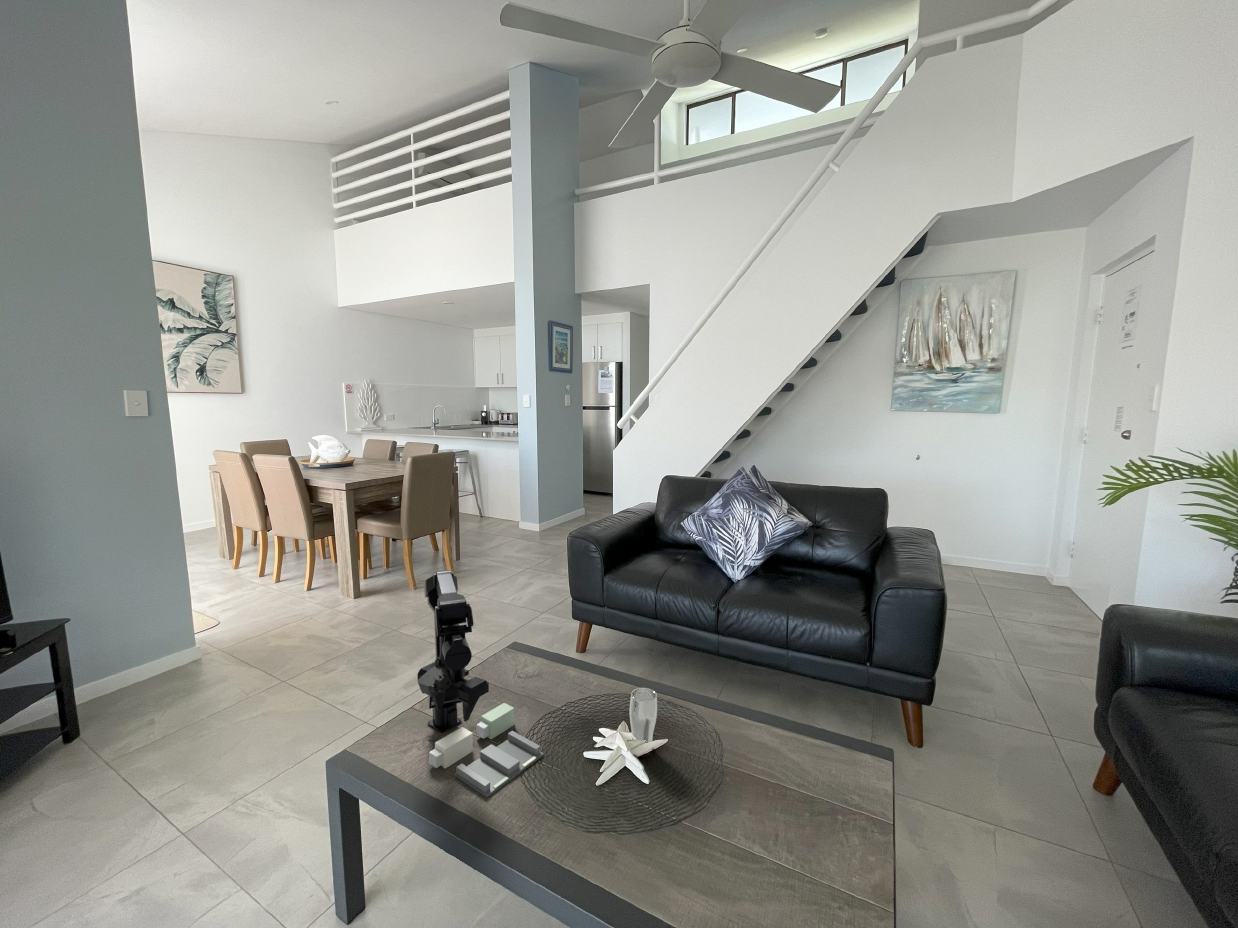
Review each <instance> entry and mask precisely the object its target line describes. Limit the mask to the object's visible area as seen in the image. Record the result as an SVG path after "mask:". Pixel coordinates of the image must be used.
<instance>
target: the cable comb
mask: <svg viewBox="0 0 1238 928" xmlns="http://www.w3.org/2000/svg"><path fill="white" fill-rule="evenodd" d="M544 756H545V753H544V752H542V751H541V746H540V745H539V744H537V743H536V742H534V741H532V740H530V739H528V738H526V737H525V736H523V735H521V734H520V733H518V732H515V731H513V730H511V731H509V732H508V733H507V739H506V740H504V741H503V742H502V743H500V744H499V745H497V746H495V745H494V744H489V745H488V746H487V747H484V748H482V750H480V751H479V758H477V759H475V760H474V761H472V762H471V763H470V764H467V766H466V765H465V764H464V763H459V765H457V766H456V769H455V774H454V775H455V777H456V779H459V780H460V781H462V783H464V784H466V785H468V786H469V787H471V788H472V789H473V790H475V791H476V792H477V793H479V794H481V796H484V797H485V798H487V799H488V798H489V797H490V796H492V795H493V794H494V793H495V792H497V791H498V790H499V789H501V788H502V787H504V786H505V785H507V784H508V783H509V782H510V781H512V780H513V779H514V778H516V777H517V776H518V775H520V774H521V773H523V772H524V771H525V770H526V769H528V768H529V767H530V766H532V765H533V764H534V763H535V762H538V760H539V759H541V758H543V757H544Z"/></svg>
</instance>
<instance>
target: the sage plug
mask: <svg viewBox="0 0 1238 928" xmlns="http://www.w3.org/2000/svg"><path fill="white" fill-rule="evenodd" d="M514 725H515V707H513V706H511V705H510V704H507V703H506V702H503V703H501V704H500V705H498V706H496V707H494V708H492V709H491V710H489V711H487V712H486V713H484V714H482V715H481V716H480V722H479V723H477V724H476V731H475V732H476V735H477V736H478V737H480V738H482V739H485V738H487V739H490V740H493V739H494V738H496V737H497V736H499V735H500V734H503V733H504V732H505V731H507V730H508V729H510V728H512V727H513V726H514Z"/></svg>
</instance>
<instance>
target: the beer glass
mask: <svg viewBox="0 0 1238 928" xmlns="http://www.w3.org/2000/svg"><path fill="white" fill-rule="evenodd" d="M657 717H658V694H657V692H656V691H654V690H653V689H651V688H649V687H648V688H647V687H638V688H635V689H633V690H632V691H631V693H630V701H629V722H630V723H629V724H630V731H631V736H632V735H633V736H634V737H635V738H636V739H637V740H641V741H642V740H646V741H647V742H653V734H654V731H655V727H656V726H655V725H656V723H657ZM646 741H645V742H646Z"/></svg>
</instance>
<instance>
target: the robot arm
mask: <svg viewBox="0 0 1238 928" xmlns="http://www.w3.org/2000/svg"><path fill="white" fill-rule="evenodd" d="M424 582H425V583H424V597H425V598H427V605H428V606H429V608H430V609H431V611H432V612H433V616H434V617H433V621H434V622H433V623H434V645H435V660H434V662H432V663H430V664H427V665H425V666H423V667H421V668H420V669H419V670H418V672H417V683H418V686H419V689H420V693H422V694H424V695H427V704H428V709H429V710H431V709H432V718H431V719H430V720H428V721H427V725H428V726H430V727H431V728H433V729H435V730H436V731H439V733H440V734H441V733H444V732H447V731H448V730H450V729H451V728H454V727H455V726H457V725H459V724H460V723H462V719H461V718H459V717H458V704H461V703H462V717H463V721H464V722H467V721H469V719H470V718H471V715H472V713H473V711H474V708H475V707H476V705H477V703H478V701H479V699H480V698H481V697H482V696H484V695H485V694H488V693H489V691H490V690H489V689H490V688H489V686H490V682H489V681H487V680H486V679H483V678H480V677H478V676H474V677H473V678H471V679H466V677H467V676H468V675H470V671H469V669H466V668H467V666H468V665H469V663H471V661H472V656H473V654H472V651H471V648H470V646H469V643H468V641H467V639H466V638H467V637H466V634H468V633H472V632H473V630H472V627H474V617H473V609H472V607H471V605H470V603H469V602H467V599H466V598H465V596H464V595H463V594H459V593H458V591H459V585H458V577H457V576H456V575H455V574H454V571H451V570H444V571H443V570H442V571H441V570H439V571H435V572H433V575H432V576H430V577H428V578H427V579H426V580H425V581H424Z"/></svg>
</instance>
